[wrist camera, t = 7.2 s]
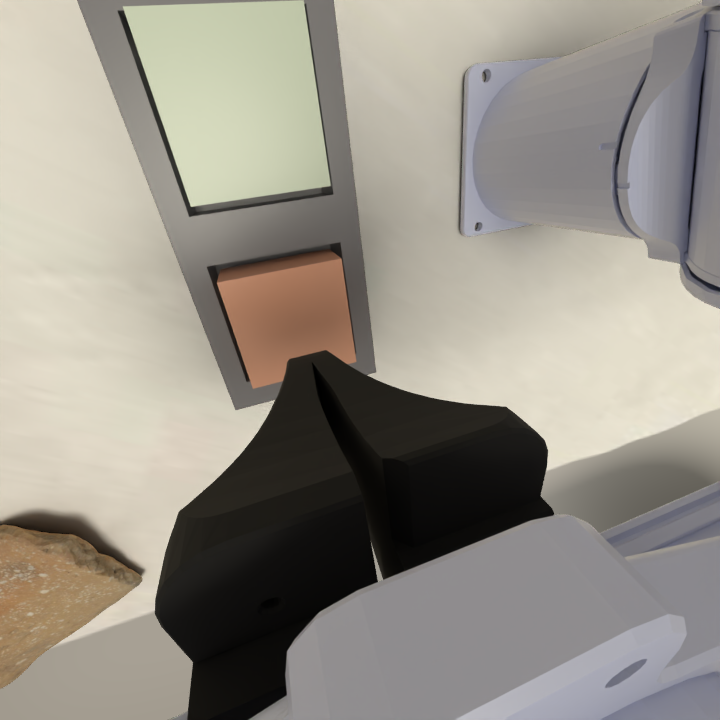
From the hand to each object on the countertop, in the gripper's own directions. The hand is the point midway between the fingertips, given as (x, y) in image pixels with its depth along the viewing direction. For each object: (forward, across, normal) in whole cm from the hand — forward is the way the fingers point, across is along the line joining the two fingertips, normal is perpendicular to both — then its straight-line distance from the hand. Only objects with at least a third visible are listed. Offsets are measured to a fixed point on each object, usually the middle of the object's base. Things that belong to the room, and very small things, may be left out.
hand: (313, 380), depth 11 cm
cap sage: (+7, 0, -8) cm, 11 cm away
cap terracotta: (+7, 0, 0) cm, 7 cm away
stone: (+10, +23, +16) cm, 30 cm away
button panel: (+9, 0, -4) cm, 10 cm away
